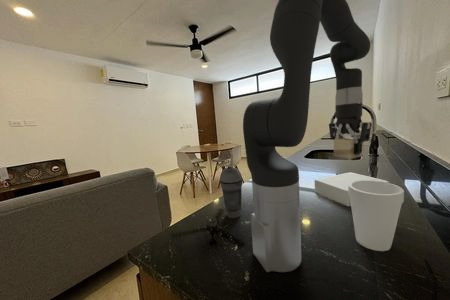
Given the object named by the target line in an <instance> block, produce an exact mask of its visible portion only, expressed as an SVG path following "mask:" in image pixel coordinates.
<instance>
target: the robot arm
mask: <svg viewBox="0 0 450 300" xmlns="http://www.w3.org/2000/svg"><path fill="white" fill-rule="evenodd" d="M320 24H321V26H322V28H323V30H324V32H325V33H324V34H325V35H326V37H327V38H328V40H329V41H330V42H332V43H333V45H332V46H331V48H330V51H329V57H330V61H331V64H332V67H333V70H334V74H335V79H336V80H335V83H336V84H335V85H336V86H335V102H334V103H335V105H334V108H335V110H334V111H335V112H334V113H335V119H336V122H330V123H329V124H328V128H329V138H330V140H332V141H334V139H340V138H345V136H346V135H349V136H350V138H353V140H354V142H355V143H354V154H355V155H359V154H361V152H362V143H363V144H364V142H369V140H370V137H371V130H372V126H373V123H372V122H371V121H369V122H368V121H367V122H365V121H362V116H363V97H364V95H363V93H364V92H363V88H362V87H363V85H362V84H363V73H362V72H363V71H362V68H361V69H360V68H358V67H354V68H347V67H346V65H345V64H347V63H351V62H354V61H355V62H356V61H359V60H361V59H363V58H365V57H366V56H367V55H368V54H369V52H370V50H371V40H370V38H369V36H368V35H367V34H366V32H364V30H362V29H361V27H360V26H359V25H358V24H357V22H355V19H354V17H353V14H352V11H351V8H350V5H349V3H348V2H347V0H277V4H276V6H275V9H274V13H273V18H272V23H271V26H270V28H271V29H270V34H269V42H270V46H271V50H272V52H273V53H274V56H275V58H276V59H277V60H278V62H279V63H280V66H281V67H282V70H283V73H284V78H283V79H284V80H283V87H282V92H281V94H280V96H278V97H272V98H267V99H266V98H265V99H260V100H256V101H252V102H251V103H250V104H248V105H247V107H246V108H245V110H244V113H243V118H242V131H243V140H244V149H245V156H246V164H247V168H248V170H249V172H250V175H251V183H252V184H251V187H252V200H253V201H252V202H253V212H252V213H250V225H251V226H250V228H251V238H252V241H251V243H252V252H253V253H252V254H253V255H254V256H255V258H256V259H257V260H258V262H259V264H261V266H262V267H263V269H264V270H265V272H266V273H270V272H278V273H288V272H289V273H290V272H292V271H295V270H296V269H297V268H298V267H299V266H300V265H301V263H302V243H301V242H302V239H301V237H302V236H301V235H302V234H301V209H300V207H301V206H300V204H301V203H300V175H299V174H300V172H299V167H298V166H297V165H296V164H295V163H294V162H292V161H290V160H288V159H287V158H285V157H283V156H282V155H280V154H279V152H278V151H277V150H276V148H292V147H293V148H294V147H297V146H298V145H300V144H301V142H302V141H303V140H304V137H305V133H306V132H307V127H308V126H307V125H308V118H309V107H310V92H311V91H310V90H311V80H312V79H311V77H312V70H313V62H314V55H315V51H316V46H317V38H318V34H319V29H320Z"/></svg>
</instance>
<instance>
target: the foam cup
mask: <svg viewBox="0 0 450 300" xmlns="http://www.w3.org/2000/svg"><path fill="white" fill-rule="evenodd" d="M348 194H349V197H350V201H351V206H350V207H351V213H352V215H351V216H352V219H353V220H352V221H353V228H354V235H355V240H356V242H357V243H358V244H359V245H360V246H362V247H364V248H366V249H369V250H372V251H377V252H385V251H389V250H390V249H391V248H392V245H393V241H394V236H395V233H396V230H397V224H398V220H399V217H400V212H401V208H402V204H404V203H405V202H404V199H405V190H404V189H403V188H402V187H401V186H399V185H396V184H394V183H390V182H389V183H386V182H382V181H373V180H358V181H352V182H350V183H348Z"/></svg>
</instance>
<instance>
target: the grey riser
mask: <svg viewBox="0 0 450 300" xmlns="http://www.w3.org/2000/svg"><path fill="white" fill-rule="evenodd" d="M358 180H373V181H382V182H386V183H390V181H388V180H384V179H382V178H377V177H376V178H375V177H372V176H368V175H363V174H359V173H356V172H351V171H349V172H343V173H340V174H335V175H331V176H330V175H329V176H327V177H325V176H324V177H322V178H321V177H320V178H316V179H314V193H316V192H317V194H318V193H319V194H318V195H320V194H321V196H323V197H325V196H326V198H327V197H328V198H327V199H329V200H332V201H334V200H335V201H334V202H337V203H338V204H341V205H343V206H347V207H351V201H350V197H349V194H348V183H350V182H352V181H358Z"/></svg>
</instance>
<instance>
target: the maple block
mask: <svg viewBox="0 0 450 300" xmlns="http://www.w3.org/2000/svg"><path fill="white" fill-rule="evenodd" d="M354 143H355V142H354V140H353V138H352V137H344V138H340V139H334V140H333V157H336V158H337V157H338V158H341V159H342V158H343V159H348V160H349V159H355V158H362V157H364V142H363V143H362V152H361V154H359V155H355V154H354Z"/></svg>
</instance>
